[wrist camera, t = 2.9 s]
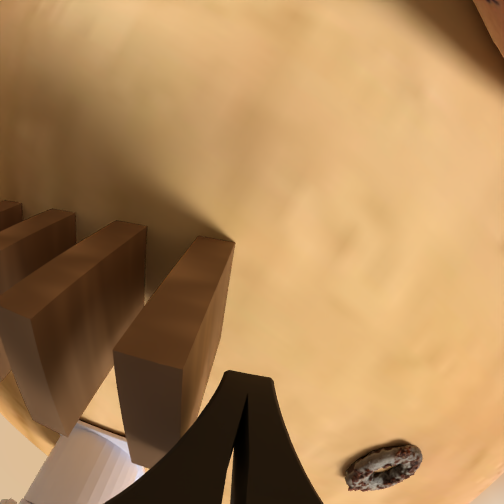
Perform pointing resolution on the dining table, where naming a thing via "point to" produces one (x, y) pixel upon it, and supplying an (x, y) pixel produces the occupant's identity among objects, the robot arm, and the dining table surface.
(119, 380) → the domino
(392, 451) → the donut
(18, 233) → the domino
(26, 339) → the domino
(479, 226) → the dining table surface
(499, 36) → the ceramic pitcher
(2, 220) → the domino
